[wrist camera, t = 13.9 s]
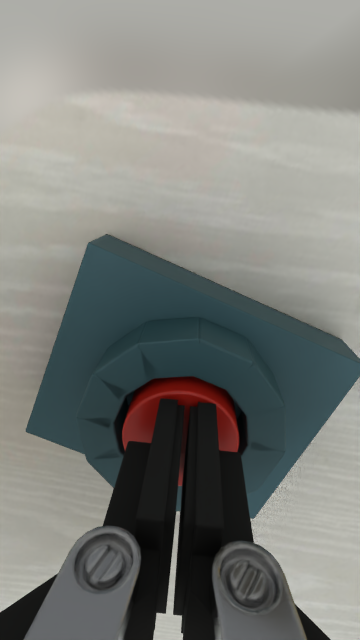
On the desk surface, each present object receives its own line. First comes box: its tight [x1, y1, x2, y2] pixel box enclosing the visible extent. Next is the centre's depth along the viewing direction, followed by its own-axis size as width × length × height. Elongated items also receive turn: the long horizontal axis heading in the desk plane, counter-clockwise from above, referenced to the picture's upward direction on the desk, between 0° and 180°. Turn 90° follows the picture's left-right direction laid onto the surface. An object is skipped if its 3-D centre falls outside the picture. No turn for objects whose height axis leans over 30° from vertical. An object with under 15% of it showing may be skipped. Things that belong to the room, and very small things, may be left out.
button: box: [122, 376, 239, 486], centre depth 11 cm, size 4×4×2 cm
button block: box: [26, 234, 360, 519], centre depth 13 cm, size 10×8×4 cm
